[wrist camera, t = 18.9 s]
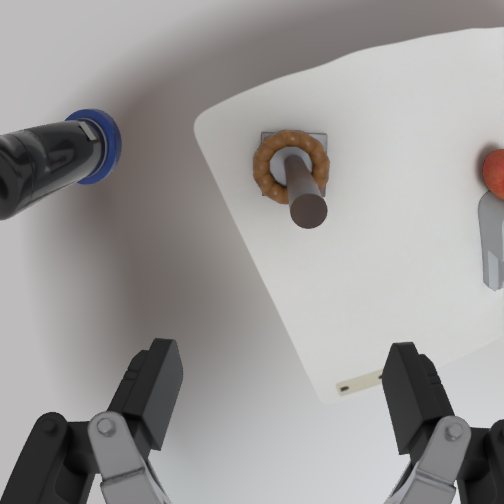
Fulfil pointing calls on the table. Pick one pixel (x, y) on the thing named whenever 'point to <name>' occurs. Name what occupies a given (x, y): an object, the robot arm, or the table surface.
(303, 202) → the peg stand
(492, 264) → the angled bracket with hole
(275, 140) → the brown segmented ring
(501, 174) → the apple
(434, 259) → the table surface
